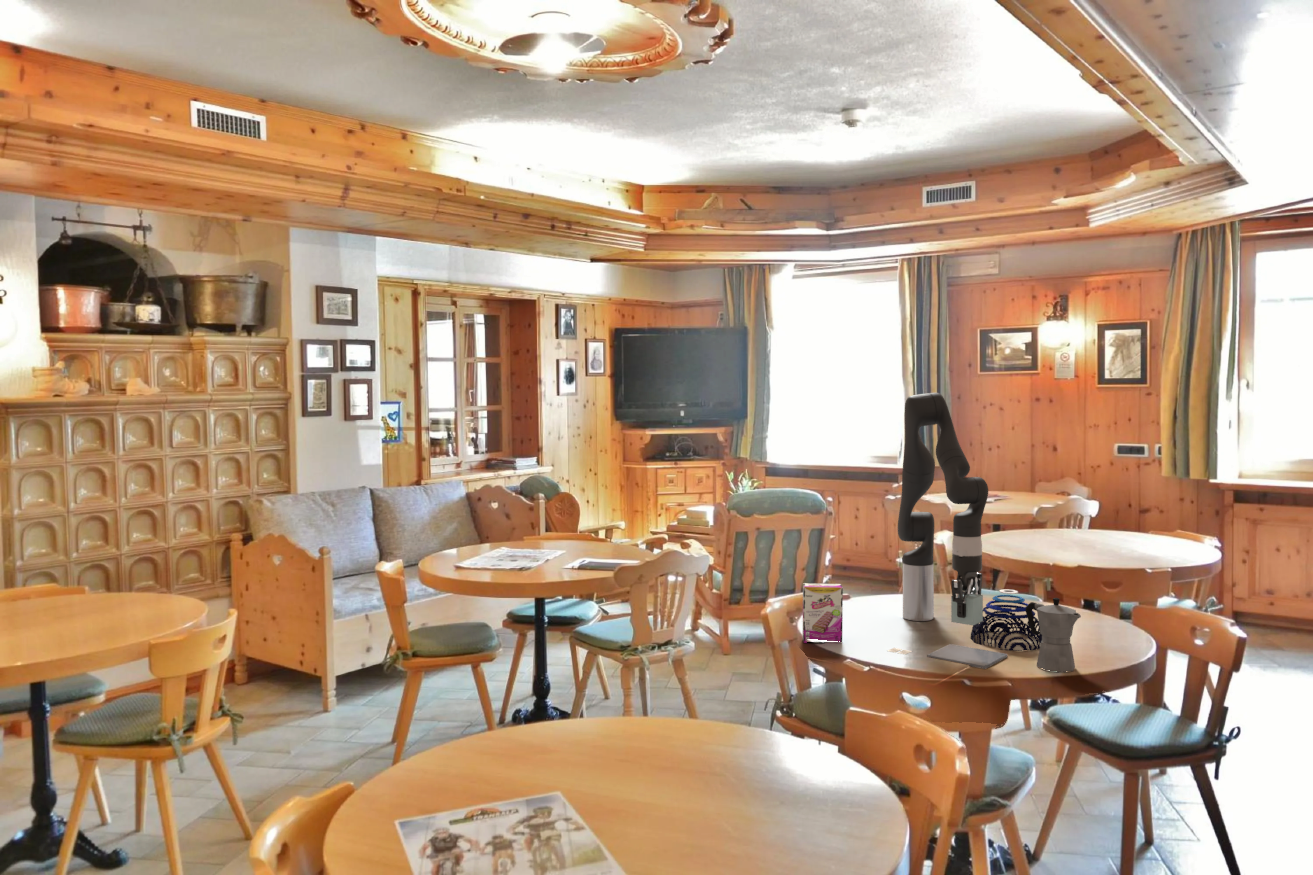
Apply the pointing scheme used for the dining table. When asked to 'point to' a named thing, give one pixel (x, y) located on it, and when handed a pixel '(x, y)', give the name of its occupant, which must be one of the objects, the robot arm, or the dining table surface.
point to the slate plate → (968, 655)
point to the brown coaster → (900, 651)
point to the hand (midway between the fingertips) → (966, 614)
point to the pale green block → (969, 610)
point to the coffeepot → (1054, 635)
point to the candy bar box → (822, 611)
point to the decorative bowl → (979, 629)
